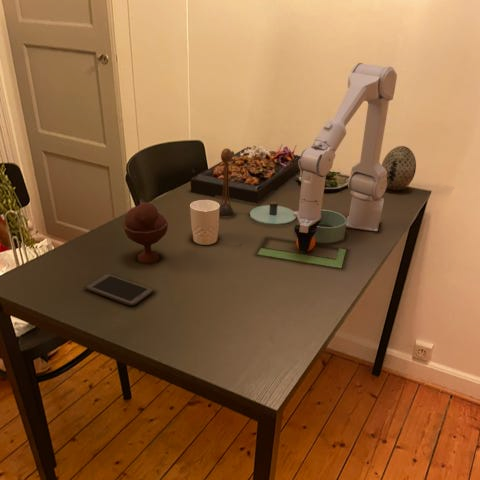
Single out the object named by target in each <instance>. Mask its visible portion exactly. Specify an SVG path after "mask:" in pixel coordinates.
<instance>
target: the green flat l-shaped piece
mask: <svg viewBox="0 0 480 480" xmlns="http://www.w3.org/2000/svg"><path fill="white" fill-rule="evenodd" d="M346 252H347V249H346V248H339V247H338V250H337V254H336V257H335V258H332V257H325V256H320V255H314V254H307V253H302V252H294V251H288V250H282V249H277V248H276V249H275V248H269V247H263V246H262V247H260V249H259V250H258V252H257V254H256V256H261V257H266V258H272V259H278V260H284V261H291V262H296V263H302V264H308V265H314V266H315V265H316V266H321V267H326V268H332V269H333V268H334V269H340V270H341V269H342V268H343V263H344V260H345V256H346Z"/></svg>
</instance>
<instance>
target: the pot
mask: <svg viewBox="0 0 480 480" xmlns="http://www.w3.org/2000/svg"><path fill="white" fill-rule="evenodd" d="M298 225H300V223H299V222H298ZM319 225H325V226H319ZM346 225H347V217H346V216H344V215H343V214H342V213H340V212H337V211H334V210H329V209H322V208H321V221H320V223H319V224H318V226H317V227H316V229H317V231H316V233H315V234H314V238H315V243H326V244H327V243H328V244H329V243H336V242H339V241H340V242H342V241H343V240H344V239H345V237H346V236H345V235H346V230H347V227H346Z"/></svg>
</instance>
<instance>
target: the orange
mask: <svg viewBox="0 0 480 480" xmlns="http://www.w3.org/2000/svg"><path fill="white" fill-rule="evenodd" d="M295 244H296V247H297V249H299V245H298V238H297V237H296V242H295ZM315 245H316V242H315V238H314V236H313V237H312V240H311V243H310V246H309V249H308V252H310V251H311V250H313V249H314V248H315Z"/></svg>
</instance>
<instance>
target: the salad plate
mask: <svg viewBox="0 0 480 480" xmlns="http://www.w3.org/2000/svg"><path fill="white" fill-rule="evenodd" d="M339 175H341V172H340V171H335V170H334V169H331V170H330V171H329V173H328V174H327V175H326V179H325V186H324V193H325V194H326V193H334V192H337V191H340V190H342V189H344V188H346V187H348V179H349V177H348V178H347V177H342V176H339ZM294 177H295V178H297V179H298V181H299V184H301V182H302V178H301V176H300V174H297V175H296V174H295V176H294Z"/></svg>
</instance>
